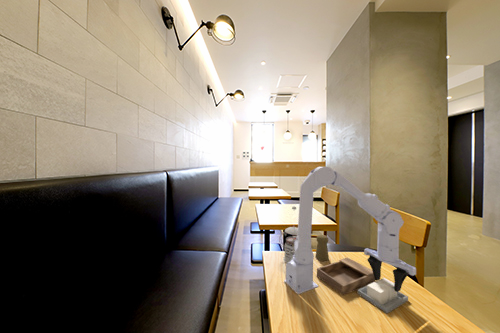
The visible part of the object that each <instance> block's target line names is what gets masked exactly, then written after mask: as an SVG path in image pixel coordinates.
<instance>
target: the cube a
mask: <svg viewBox="0 0 500 333" xmlns="http://www.w3.org/2000/svg"><path fill="white" fill-rule="evenodd" d="M366 286H367V295H368V296H369V297H371V298H373V299H374V300H376V301H377V302H379V303H380V304H382V305H383V304H385V303H386V302H388V289H386V288H385V287H383V286H381V285H379V284H377V283H376V281H374V282H372V283H370V284H368V285H366Z"/></svg>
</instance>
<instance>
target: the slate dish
mask: <svg viewBox="0 0 500 333" xmlns="http://www.w3.org/2000/svg"><path fill="white" fill-rule="evenodd" d="M375 282H376V283H377V281H376V280H375ZM357 295H358V296H360V297H361V298H363V299H364V300H366V301H367V302H369V303H370V304H372V305H373V306H375V307H377V308H378V309H379V310H381V311H382V312H384V313H385V314H389V313H390V312H392V311H394V310H395V309H397V308H398V307H401V306H402V305H403V304H405V303H407V302H408V301H409V296H407V295H406V294H404V293H402V292H401V291H398V292H397V297H396V298H394V299H392V300H389V299H388V302H386V303H385V304H383V305H382V304H380V303H379V302H377V301H376V300H374V299H373V298H371V297H369V296H368V295H367V285H366V286H363V287H361V288H359V289H357Z"/></svg>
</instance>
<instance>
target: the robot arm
mask: <svg viewBox="0 0 500 333" xmlns="http://www.w3.org/2000/svg"><path fill="white" fill-rule="evenodd" d="M330 185H332V186H336V187H339V188H341V189H342V190H343V191H345V192H346V193H347V194H349V195H350V196H351V197H352V198H354V199H355V200H357V205H358V206H359V208H361V209H362V210H364V212H366V213H368V214H369V215H370V216H371V217H373V218H374V219H375V221H376V222H377V242H376V243H377V248H376V250H374V249H370V248H368V247H367V248H364V250H363V255H365V256H369V257H368V258H367V260H366V261H367V262H368V264H369V266H370V269H371V270H372V271H373V274H374V278H375V282H376V281H378V280H380V279H381V277H382V276H381V273H382V263H384V264H387V265H390V266H391V267H394V268H395V269H392V274H393V278H394V280H393V281H394V282H393V283H394V289H395V291H396V292H398V291H399V292H401V289H402V286H403V283H404V281H405V279H406V278H407V277H408V275H410V276H412V277H413V276H416V275H417V268H416V267H415V266H412V265H410V264H408V263H406V262H405V261H403V260H401V259H399V258H400V257H399V256H400V255H399V254H400V253H399V252H400V251H399V250H400V249H399V248H400V247H399V246H400V230H401V228H402V227H403V225H404V223H405V220H403V218H402V215H401V214H400V213H399V212H397V211H394V210H392V209H391V205H389V204H387V203H384V202H382V201H381V200H380V199H379V196H378V195H377V194H375V193H373V194H372V193H369V192H368V193H365V192H363V191H362V190H361V189H359V188H358V187H357V186H356V185H355V184H354V183H352V182H351V181H350V180H349V179H347V178H346V177H345V176H344V175H342V174H341V173H340V172H338V171H336V170H333V169H332V168H331V167H329V166H318V167H315V168H313V169H312V170H310V172H309V173H308V174H307V176H306V178H305V179H304V180H303V181H302V182H301V184H300V187H299V188H300V189H299V203H298V204H299V205H298V220H297V221H298V222H297V223H298V224H297V228H298V232H297V235H296V237H297V238H296V240H295V241H294V245H293V246H294V248H295V254H294V255H293V259H292V260H291V261H290V262H288V263H286V264H285V279H284V283H285V284H287V285H288V286H289V287H290V288H291V289H292V290H293V291H294V292H295V293H296V294H298V295H300V294H303V293H306V292H307V291H310V290H314V289H316V288H318V287H319V285H318V284H317V283H316V282H314V257H315V255H314V252H313V249H312V223H313V222H312V221H313V205H314V193H315V192H316V191H318V190H320V188H323V187H326V186H330Z"/></svg>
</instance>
